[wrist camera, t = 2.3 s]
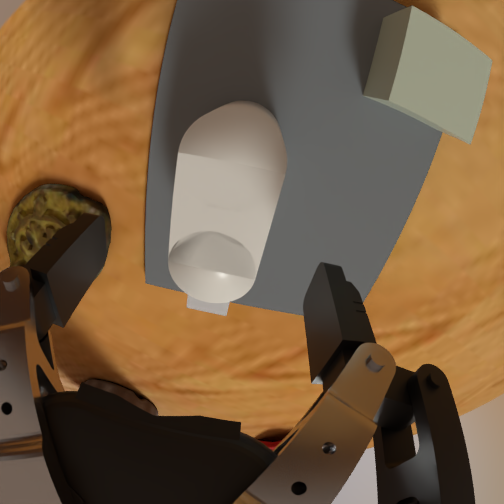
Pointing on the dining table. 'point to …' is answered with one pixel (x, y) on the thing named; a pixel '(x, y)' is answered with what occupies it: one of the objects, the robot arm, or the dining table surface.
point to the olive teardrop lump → (47, 219)
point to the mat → (293, 135)
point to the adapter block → (429, 73)
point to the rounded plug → (224, 203)
